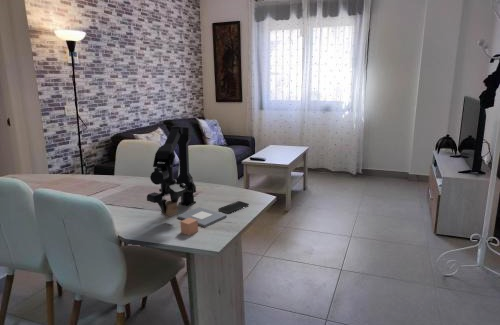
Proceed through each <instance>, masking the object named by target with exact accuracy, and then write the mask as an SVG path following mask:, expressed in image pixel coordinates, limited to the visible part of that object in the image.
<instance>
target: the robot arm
mask: <svg viewBox="0 0 500 325" xmlns="http://www.w3.org/2000/svg"><path fill="white" fill-rule="evenodd" d="M168 133H169V134H168V135H167V137H166V140H165V142H164V143H163V145H161V146H159V147H158V149H157V150H156V152H155V154H154V157H153V158H154V159H153V160H154V161H153V164H152V167H153V168H154V169H153V170H154V171H152V172H151V173H150V176H149V179H150V181H151V182H152V183H153V184H154V185H160V188H159V189H158V190H159V193H158V192H155V191H154V192H150V193H148V194H147V195H146V201H147V202H150V203H153V204H158V206H159V208H160V211H161V210H162V211H163V213H166V206H165V202H167V201H168V200H167V199H165V197H167V196H170V201H173V202H176V203H177V204H179V205H182V206H186V207H188V206H191V205H193V204H196V203H197V201H195V196H194V193H196V192H197V186H196V184H195V182H194V179H193V176H192V174H191V173H190V162H189V155H190V154H189V143H190V142H191V140H192V135H193V130H192V128H191V127H190V126H181V125H173V126H171V127H170V130H169V132H168ZM177 145H178V161H179V164H178V166H179V168H178V169H179V174H178V176H177V177H176V179H174V178H175V177H174V168H173V166H174V165H175V164H174V163H175V160H176V153H175V149H176V147H177ZM179 199H180V202H178V201H179Z"/></svg>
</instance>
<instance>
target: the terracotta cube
mask: <svg viewBox="0 0 500 325" xmlns="http://www.w3.org/2000/svg"><path fill="white" fill-rule="evenodd" d="M179 224H180V232H181V233H182V234H185V235H186V236H187V235H188V236H191V235H193V234H195V233H197V232H199V225H198V221H197V220H195V219H192V218H187V219H185V220H182V219H181V221H180V222H179Z"/></svg>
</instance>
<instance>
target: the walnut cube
mask: <svg viewBox="0 0 500 325" xmlns="http://www.w3.org/2000/svg"><path fill="white" fill-rule="evenodd" d="M165 206H166V213H163V211H162V210H161V209H160V211H161V215H162V216H165V217H172V216H174V215H177V214H178V202H177V203H176V202H173V201H171V200H167V201H166V202H165Z"/></svg>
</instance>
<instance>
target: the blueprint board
mask: <svg viewBox="0 0 500 325" xmlns="http://www.w3.org/2000/svg"><path fill="white" fill-rule="evenodd" d="M187 218H192V219H195V220H197V221H198V226H201V227H203V228H206V227H208V226H211V225H213V224H215V223H217V222H219V221H222V220H224V219H226V218H227V214H226V213H222V212H219V211H213V210H210V209H207V208H203V207H201V206H198V207H196V208H193V209H191V210H188V211H186V212H184V213H181V214H179V215H177V219H180V220H181V221H182V220H185V219H187Z"/></svg>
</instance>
